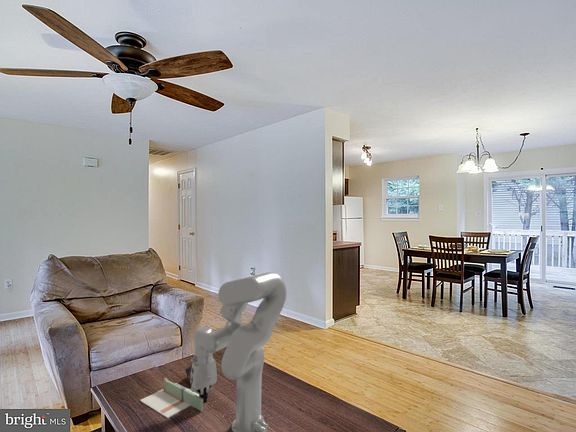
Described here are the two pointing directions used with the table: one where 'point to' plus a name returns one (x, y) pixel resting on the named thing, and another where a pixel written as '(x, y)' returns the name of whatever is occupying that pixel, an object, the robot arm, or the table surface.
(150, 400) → the card
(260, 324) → the robot arm
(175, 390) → the fixed fence panel
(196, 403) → the hinged fence panel
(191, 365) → the character figurine
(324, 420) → the table surface
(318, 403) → the table surface
